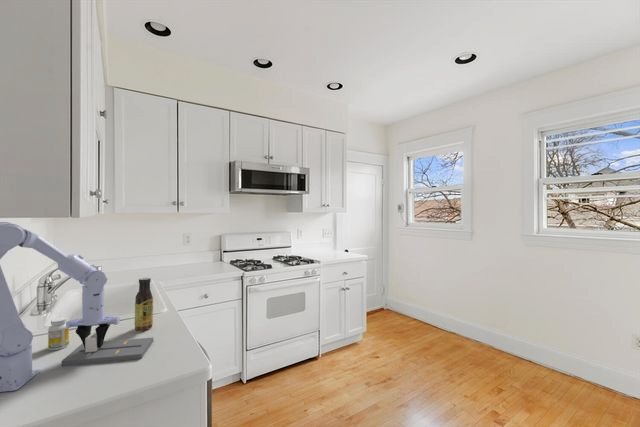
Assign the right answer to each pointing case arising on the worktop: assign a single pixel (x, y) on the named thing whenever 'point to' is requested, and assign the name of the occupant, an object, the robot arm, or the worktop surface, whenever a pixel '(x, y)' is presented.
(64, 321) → the supplement bottle
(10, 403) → the worktop surface
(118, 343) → the fader console
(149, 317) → the sauce bottle
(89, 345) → the fader cap
